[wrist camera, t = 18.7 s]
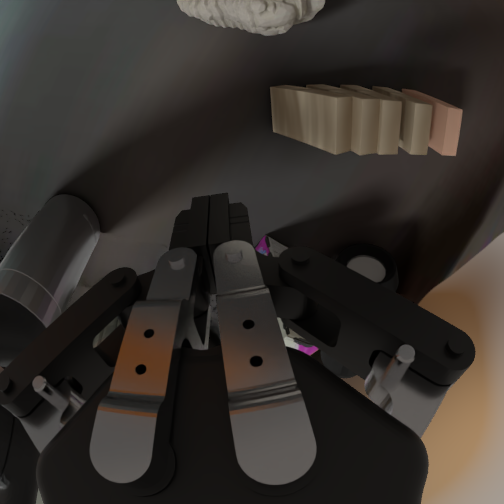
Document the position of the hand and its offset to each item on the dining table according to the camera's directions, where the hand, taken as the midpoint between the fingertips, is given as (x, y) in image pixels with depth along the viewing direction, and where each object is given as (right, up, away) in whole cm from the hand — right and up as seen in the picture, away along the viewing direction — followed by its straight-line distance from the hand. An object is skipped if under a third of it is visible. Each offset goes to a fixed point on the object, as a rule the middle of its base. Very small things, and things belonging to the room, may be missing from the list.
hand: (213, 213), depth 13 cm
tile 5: (+20, +15, +16) cm, 30 cm away
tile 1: (+4, +13, +16) cm, 21 cm away
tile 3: (+12, +14, +16) cm, 25 cm away
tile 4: (+16, +15, +16) cm, 27 cm away
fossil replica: (+1, +23, +8) cm, 25 cm away
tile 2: (+8, +14, +16) cm, 23 cm away
